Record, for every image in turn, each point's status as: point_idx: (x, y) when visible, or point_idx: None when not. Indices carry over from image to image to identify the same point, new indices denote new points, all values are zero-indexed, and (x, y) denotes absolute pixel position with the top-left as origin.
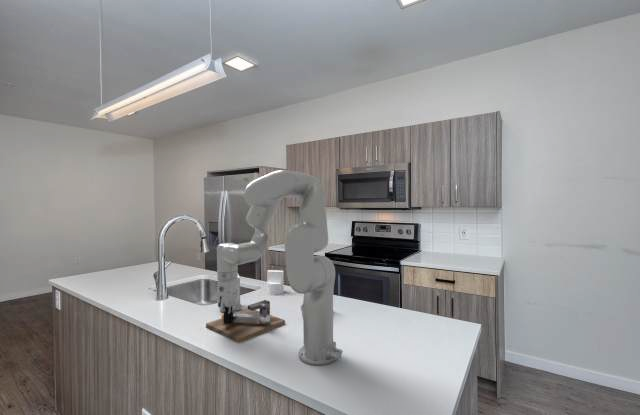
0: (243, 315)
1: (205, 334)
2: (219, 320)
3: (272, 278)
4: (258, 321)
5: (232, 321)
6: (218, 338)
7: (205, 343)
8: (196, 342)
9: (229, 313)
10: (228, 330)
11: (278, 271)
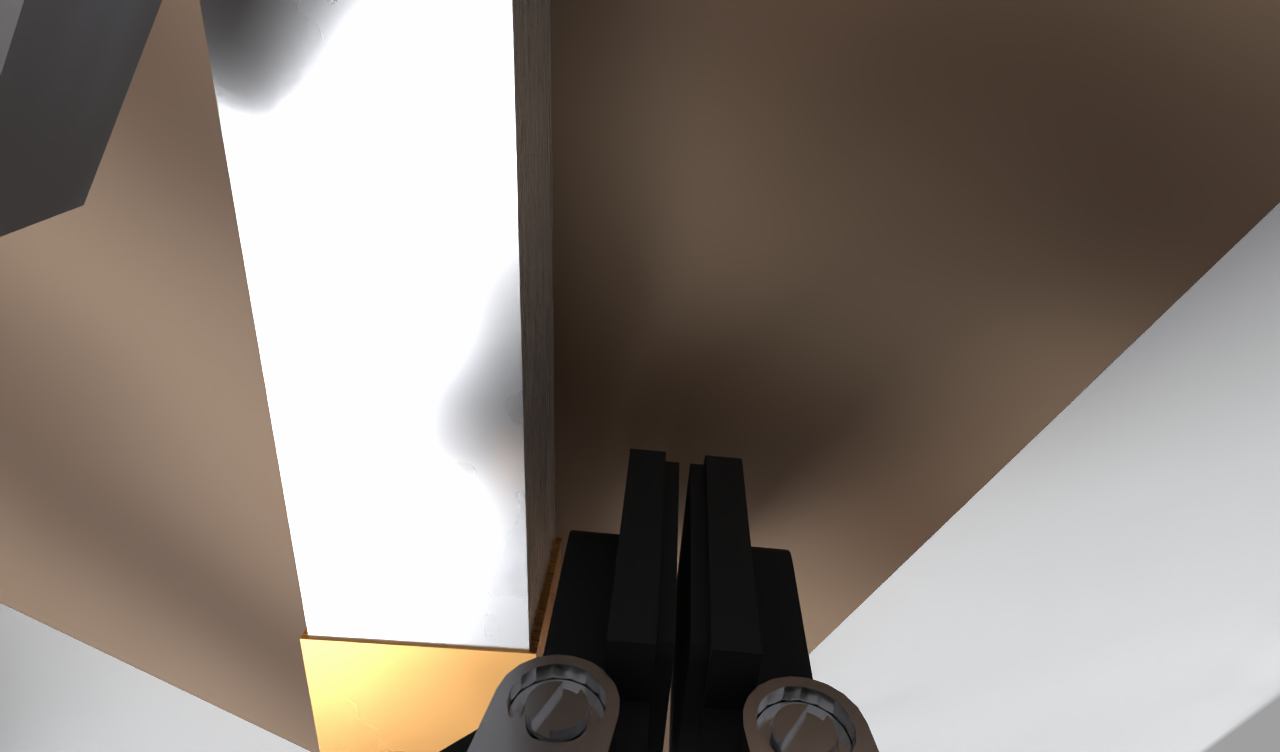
0: (407, 255)
1: None
2: None
3: None
4: None
5: (665, 466)
6: (1072, 489)
7: (1260, 618)
8: (1184, 748)
9: (851, 705)
10: (921, 409)
11: None
